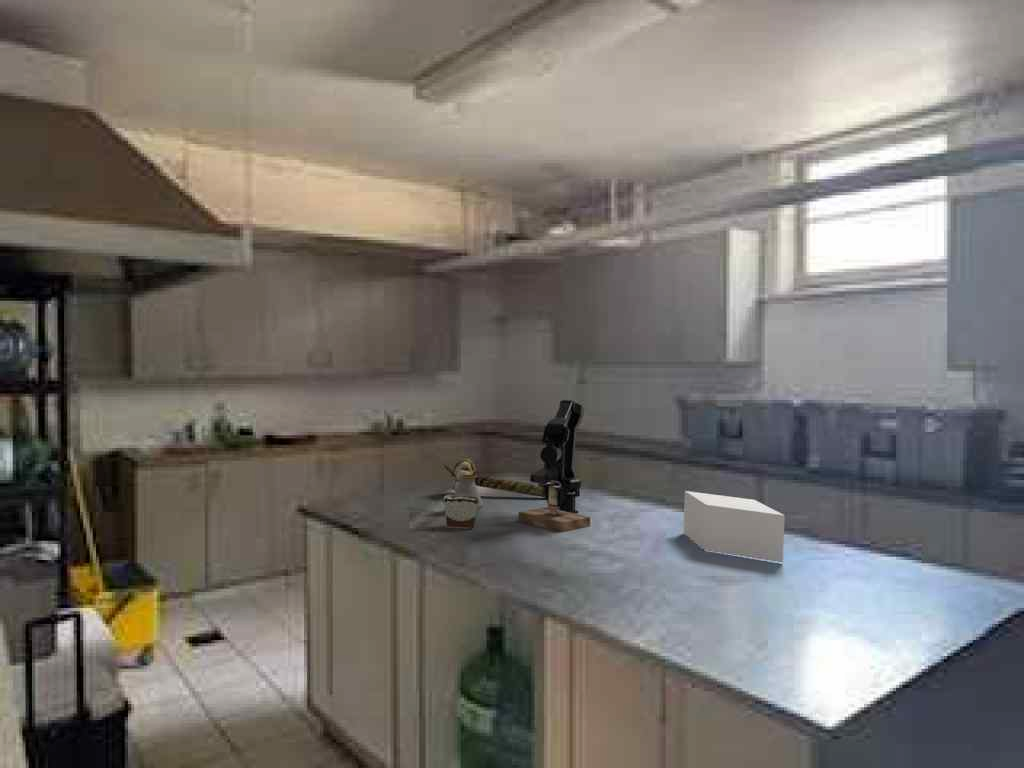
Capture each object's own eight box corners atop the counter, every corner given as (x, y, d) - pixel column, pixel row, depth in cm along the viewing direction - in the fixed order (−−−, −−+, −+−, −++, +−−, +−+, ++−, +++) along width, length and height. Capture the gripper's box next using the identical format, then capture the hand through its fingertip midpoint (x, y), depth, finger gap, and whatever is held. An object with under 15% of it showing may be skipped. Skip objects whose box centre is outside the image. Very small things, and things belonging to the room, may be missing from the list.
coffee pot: (489, 512, 269) (490, 471, 268) (462, 516, 262) (463, 473, 261) (456, 502, 286) (456, 463, 285) (430, 505, 279) (431, 465, 278)
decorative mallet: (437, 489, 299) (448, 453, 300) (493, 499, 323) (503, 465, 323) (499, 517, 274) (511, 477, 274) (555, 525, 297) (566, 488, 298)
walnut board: (546, 515, 267) (547, 507, 266) (589, 526, 252) (590, 517, 252) (518, 520, 257) (518, 512, 257) (561, 532, 242) (561, 522, 242)
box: (706, 531, 250) (707, 488, 249) (806, 561, 215) (808, 512, 215) (659, 537, 240) (661, 493, 239) (757, 569, 205) (759, 518, 205)
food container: (481, 524, 250) (482, 494, 250) (479, 529, 244) (479, 498, 244) (445, 523, 251) (445, 493, 251) (441, 527, 245) (442, 496, 245)
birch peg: (553, 511, 257) (554, 485, 257) (562, 513, 254) (563, 487, 254) (545, 513, 254) (546, 486, 254) (554, 515, 251) (555, 488, 251)
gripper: (519, 458, 255) (518, 504, 256) (559, 465, 241) (558, 513, 242) (542, 456, 263) (541, 500, 263) (582, 462, 249) (581, 509, 250)
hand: (554, 505), depth 254 cm, fingers closed on birch peg, 4 cm apart
